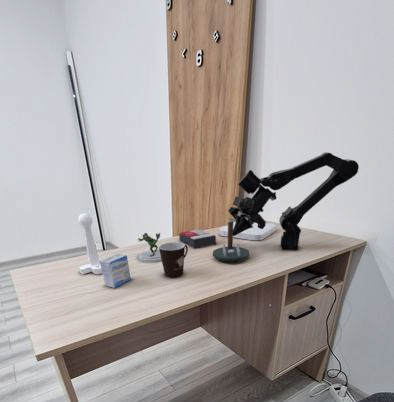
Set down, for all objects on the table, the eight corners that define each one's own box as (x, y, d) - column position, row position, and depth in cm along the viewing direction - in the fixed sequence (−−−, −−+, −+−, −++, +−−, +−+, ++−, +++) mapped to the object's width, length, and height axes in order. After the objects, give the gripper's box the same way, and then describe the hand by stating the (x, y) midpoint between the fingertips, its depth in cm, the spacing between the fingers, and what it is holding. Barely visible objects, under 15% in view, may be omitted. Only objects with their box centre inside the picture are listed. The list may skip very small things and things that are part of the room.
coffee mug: (167, 281, 99) (164, 252, 94) (158, 272, 106) (155, 245, 101) (198, 274, 103) (197, 245, 98) (187, 266, 110) (186, 239, 105)
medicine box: (114, 288, 95) (109, 262, 91) (104, 286, 98) (99, 260, 93) (131, 279, 101) (127, 255, 97) (121, 277, 103) (117, 253, 99)
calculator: (199, 228, 142) (216, 233, 130) (200, 237, 144) (216, 243, 132) (178, 232, 137) (193, 238, 126) (179, 241, 140) (194, 248, 128)
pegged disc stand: (251, 260, 109) (253, 227, 103) (213, 261, 109) (213, 228, 103) (247, 248, 121) (248, 217, 115) (212, 249, 121) (212, 219, 115)
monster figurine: (132, 257, 120) (128, 232, 115) (155, 250, 128) (153, 225, 123) (151, 264, 113) (148, 237, 108) (174, 256, 120) (172, 230, 115)
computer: (260, 241, 133) (260, 235, 132) (217, 235, 144) (217, 230, 142) (277, 229, 149) (278, 224, 147) (237, 225, 159) (237, 220, 158)
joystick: (108, 264, 114) (98, 210, 104) (115, 270, 109) (105, 213, 99) (79, 271, 109) (65, 215, 99) (85, 278, 104) (70, 219, 93)
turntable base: (244, 254, 119) (244, 251, 119) (243, 263, 111) (243, 260, 110) (219, 253, 121) (219, 250, 120) (216, 262, 113) (216, 259, 112)
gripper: (232, 185, 118) (208, 217, 120) (261, 190, 104) (233, 227, 105) (248, 203, 125) (225, 234, 127) (277, 211, 110) (251, 245, 112)
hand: (232, 235), depth 117 cm, fingers closed, pressing on pegged disc stand
